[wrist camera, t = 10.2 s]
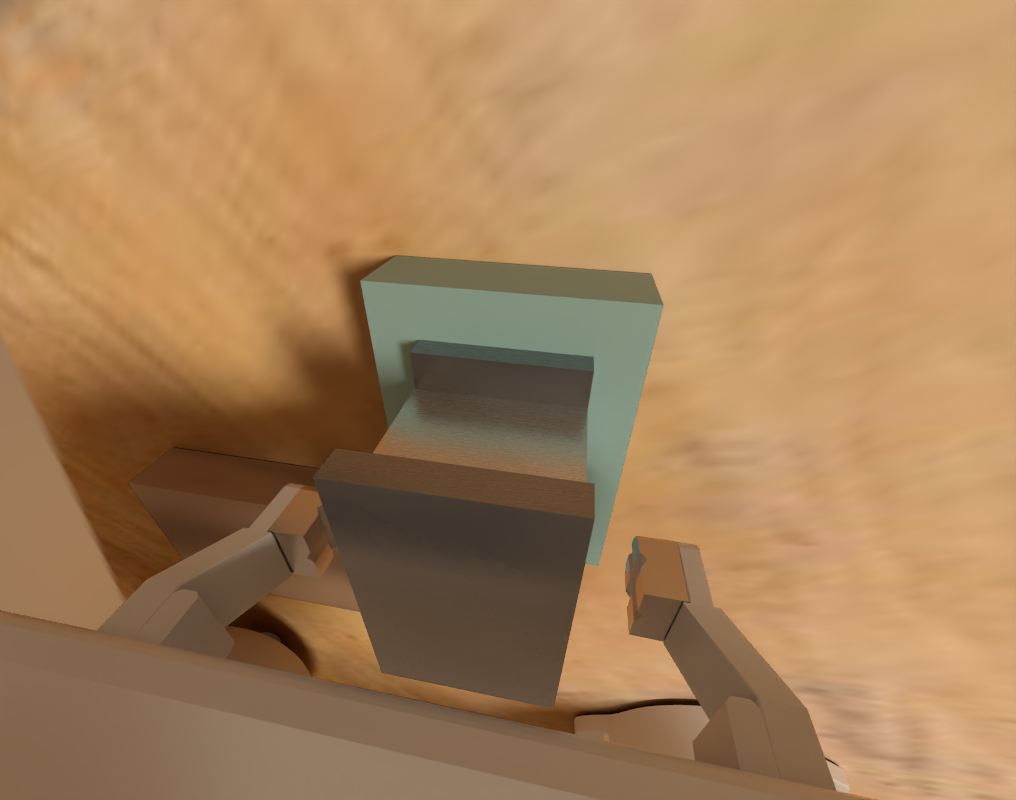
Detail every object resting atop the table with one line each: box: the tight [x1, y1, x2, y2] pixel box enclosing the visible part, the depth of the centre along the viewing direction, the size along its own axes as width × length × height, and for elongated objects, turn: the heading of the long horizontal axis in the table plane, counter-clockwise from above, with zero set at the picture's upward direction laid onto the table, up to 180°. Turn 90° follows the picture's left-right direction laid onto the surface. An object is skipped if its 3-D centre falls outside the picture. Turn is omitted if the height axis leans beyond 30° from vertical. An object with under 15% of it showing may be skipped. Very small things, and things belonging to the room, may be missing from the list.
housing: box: [313, 340, 595, 709], centre depth 12 cm, size 5×8×6 cm, turn 179°
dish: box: [225, 626, 311, 677], centre depth 31 cm, size 18×14×5 cm
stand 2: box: [360, 255, 663, 566], centre depth 15 cm, size 11×8×2 cm
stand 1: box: [128, 448, 360, 612], centre depth 21 cm, size 8×11×2 cm
